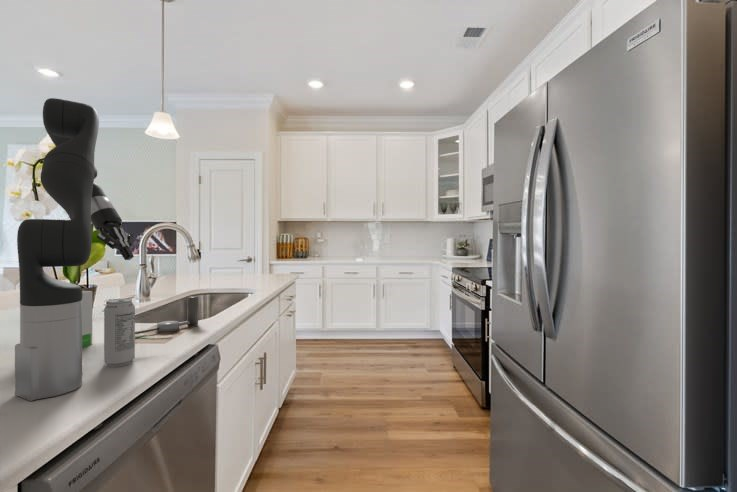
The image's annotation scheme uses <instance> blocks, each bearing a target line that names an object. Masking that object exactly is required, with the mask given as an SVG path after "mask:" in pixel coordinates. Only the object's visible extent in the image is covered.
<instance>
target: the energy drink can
mask: <svg viewBox="0 0 737 492" xmlns="http://www.w3.org/2000/svg"><path fill="white" fill-rule="evenodd" d="M105 305H106V306H105V307H104V308H103V311H104V312H103V315H104V316H103V318H104V319H103V324H104V325H103V326H104V327H103V328H104V329H103V332H104V333H103V334H104V335H103V339H104V340H103V341H104V342H103V362H104V364H106V366H107V367H110V368H117V367H124V366H128V365H130V364H131V363H133V360H134V359H135V357H136V356H135V355H136V354H135V352H136V351H135V350H136V343H135V332H136V306H135V305H134V303H133V299H131V298H115V299H110V300H109V299H108V300H107V303H106V304H105Z"/></svg>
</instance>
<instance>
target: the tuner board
mask: <svg viewBox="0 0 737 492" xmlns="http://www.w3.org/2000/svg"><path fill="white" fill-rule="evenodd" d="M196 326H198V325H195V326H188V325H182V326H179V329H178V330H176V331H171V332H158V331H157V330H155V331H150V332H145V333H140V334H135V344H167V343H168V342H170V341H171V340H173V339H175V338H177V337H179V336H181V335H182V334H184V333H186V332H188V331H190V330H191V329H193V328H194V327H196ZM152 328H157V324H155V325H153V326H151V327H149V328H146V329H145V330H147V329H152Z"/></svg>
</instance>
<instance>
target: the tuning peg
mask: <svg viewBox="0 0 737 492" xmlns="http://www.w3.org/2000/svg"><path fill="white" fill-rule="evenodd" d="M186 299H187V303H186V306H187V309H186V310H187V311H186V312H187V315H186V317H187V318H186V320H185V321H177V320H164V321H160V322H158V323H156V325H157V328H152V329H148V328H146V329H147V330H146V329H142V330H137V331H135V334H140V333H145V332H150V331H155V330H157V331H158V332H171V331H176V330H178V329H179V326H182V325H188V326H195V325H197V326H198V325H199V296H197V295H191V296H187V298H186ZM195 327H196V326H195Z"/></svg>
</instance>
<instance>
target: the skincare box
mask: <svg viewBox="0 0 737 492" xmlns="http://www.w3.org/2000/svg"><path fill="white" fill-rule="evenodd" d="M91 345H93V290H82V348H86V347H88V346H91Z"/></svg>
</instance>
